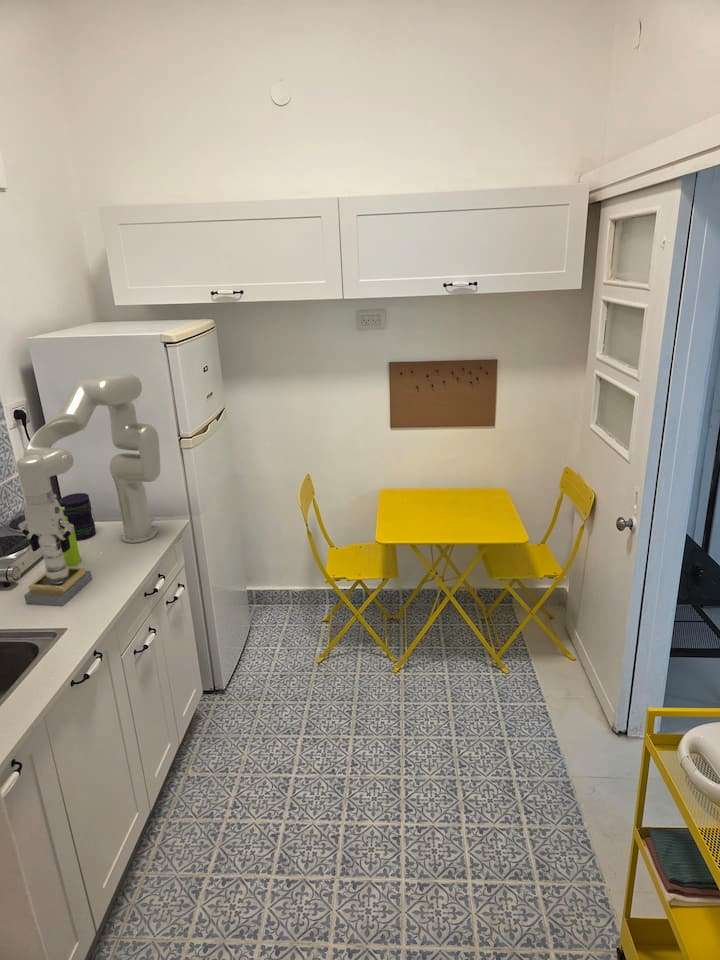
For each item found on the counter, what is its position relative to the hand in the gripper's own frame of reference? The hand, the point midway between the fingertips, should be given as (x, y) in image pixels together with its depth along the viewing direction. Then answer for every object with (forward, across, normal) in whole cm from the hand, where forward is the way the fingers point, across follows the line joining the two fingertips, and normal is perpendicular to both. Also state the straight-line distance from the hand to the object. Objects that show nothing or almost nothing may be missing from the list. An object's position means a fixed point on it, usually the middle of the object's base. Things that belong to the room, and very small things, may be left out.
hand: (51, 549), depth 189 cm
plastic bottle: (+11, 0, 0) cm, 11 cm away
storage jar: (+15, +16, -39) cm, 44 cm away
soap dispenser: (+14, +8, -18) cm, 24 cm away
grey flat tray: (+14, 0, 0) cm, 14 cm away
